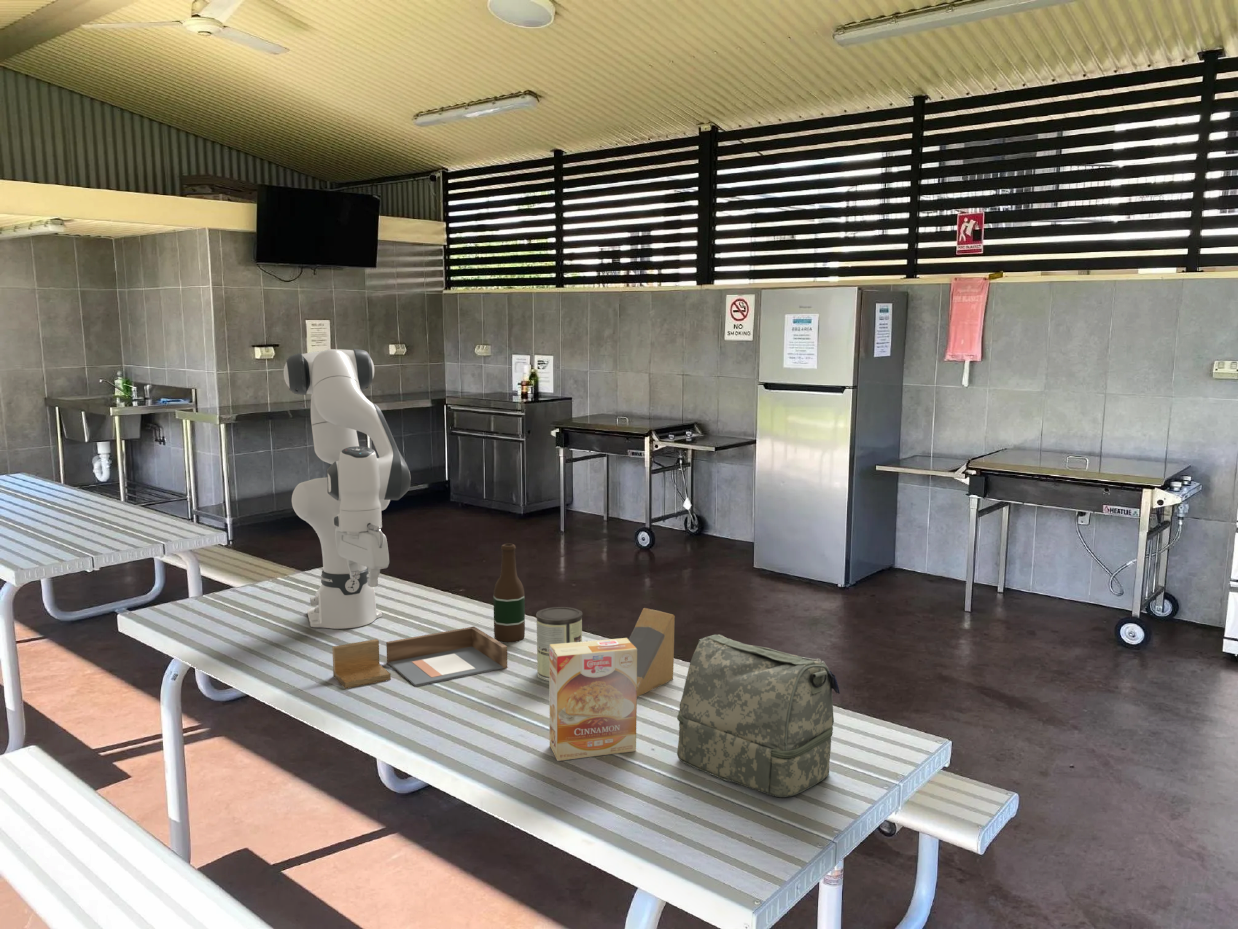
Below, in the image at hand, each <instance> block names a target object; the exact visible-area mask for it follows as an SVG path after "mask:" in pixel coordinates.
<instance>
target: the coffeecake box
mask: <svg viewBox="0 0 1238 929" xmlns="http://www.w3.org/2000/svg"><path fill="white" fill-rule="evenodd" d="M548 683H549V684H548V685H549V690H548V691H549V693H548V694H549V695H548V697H549V701H548V703H549V726H548V727H549V732H548V733H549V739H548V740H549V746H550V748H551V751H552V752H553V755H554V757H555V759H556V761H557V762H560V761H561V762H562V761H568V760H576V759H584V758H593V757H601V756H609V755H615V754H623V753H631V752H637V716H638V715H637V714H638V713H637V708H638V707H637V706H638V705H637V704H638V703H637V701H638V699H637V698H638V697H637V649H636V647H635V646H634V645H633V644H632V643H631V642H630V641H629V638H628V637H623V638H622V637H621V638H610V639H597V640H585V641H582V642H572V643H560V644H550V645H549V681H548Z"/></svg>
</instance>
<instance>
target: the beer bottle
mask: <svg viewBox="0 0 1238 929" xmlns="http://www.w3.org/2000/svg"><path fill="white" fill-rule="evenodd" d="M516 549H517V547H516V544H513V543H504V544H502V545H501V547H500V550H501V565H500V567H501V568H500V576H499V577H498V579H497V581H495V585H494V587H493V595H492V598H493V634H494V636H493V638H494V639H496V640H497V641H499V642H501V643H507V644H509V643H518V642H520V641H522V640H523V639H525V635H526V633H525V632H526V626H525V625H526V620H525V619H526V616H525V614H526V611H525V610H526V609H525V606H526V605H525V600H526V599H525V595H526V594H525V587H524V585H523V583H522V581H521V580H520V578H519V577H518V572H517V562H516Z"/></svg>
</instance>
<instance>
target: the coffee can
mask: <svg viewBox="0 0 1238 929" xmlns="http://www.w3.org/2000/svg"><path fill="white" fill-rule="evenodd" d="M535 616H536V617H535V618H536V649H537V650H536V652H537V653H536V660H537V665H536V666H537V671H536V674H537V677H538V679H540V680H543V681H547V682H549V645H550V644H560V643H572V642H583V612H582V610H581V609H578V608H575V607H568V606H567V607H566V606H552V607H547V608H543V609H540V610H538V611H537V612H536V614H535Z"/></svg>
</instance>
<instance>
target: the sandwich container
mask: <svg viewBox="0 0 1238 929" xmlns="http://www.w3.org/2000/svg"><path fill="white" fill-rule="evenodd" d="M675 618H676V616H675V615H674V614H672V613H668V612H665V611H661V610H658V609H656V610H655V609H652V608H651V609H650V608H647V607H644V608H642V610H641V613H640V615H639V617H638V619H637V621H636V623H635V626H634V628H633V630H632V632H631V634H630V635H629V638H628V640H629V641H630V642H631V643H632V644H633V645H634V646H635V647H636V649H637V698H638V697H640V696H641V695H644V694H646V693H649V692H650V691H652V690H655V689H656V688H659V687H661V686H663V685H665V684H667V683H669V682H670V681H672V680H674V661H675V656H674V655H675Z"/></svg>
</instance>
